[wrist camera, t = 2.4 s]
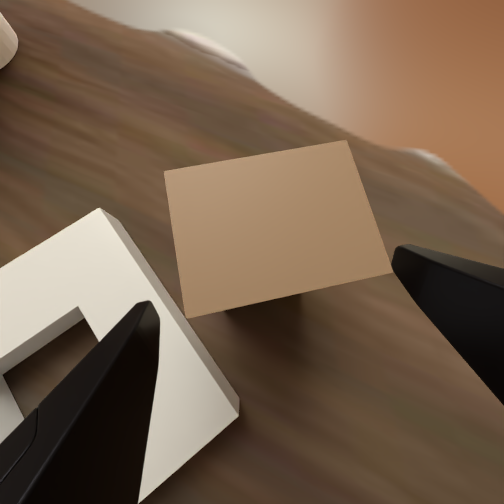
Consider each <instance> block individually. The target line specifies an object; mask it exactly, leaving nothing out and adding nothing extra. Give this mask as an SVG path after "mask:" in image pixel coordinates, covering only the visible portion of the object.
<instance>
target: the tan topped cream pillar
mask: <svg viewBox="0 0 504 504" xmlns="http://www.w3.org/2000/svg"><path fill="white" fill-rule="evenodd" d="M164 176H165V183H166V189H167V196H168V203H169V209H170V216H171V223H172V229H173V236H174V243H175V250H176V256H177V263H178V270H179V276H180V283H181V290H182V296H183V303H184V310H185V316H186V319H187V318H192V317H196V316H201V315H205V314H210V313H214V312H219V311H223V310H227V309H232V308H236V307H241V306H245V305H250V304H254V303H259V302H263V301H268V300H272V299H276V298H281V297H285V296H290V295H294V294H299V293H303V292H308V291H312V290H317V289H321V288H325V287H330V286H334V285H339V284H343V283H348V282H352V281H357V280H361V279H366V278H370V277H374V276H379V275H383V274H388V273H392V272H393V269H392V267H391V264H390V261H389V258H388V255H387V253H386V250H385V247H384V244H383V241H382V238H381V236H380V233H379V230H378V227H377V224H376V222H375V219H374V216H373V213H372V210H371V207H370V205H369V202H368V199H367V196H366V193H365V191H364V188H363V185H362V182H361V179H360V177H359V174H358V171H357V168H356V165H355V162H354V160H353V157H352V154H351V151H350V148H349V146H348V143H347V140H343V141H337V142H331V143H326V144H320V145H314V146H308V147H302V148H296V149H291V150H285V151H279V152H273V153H267V154H261V155H256V156H250V157H244V158H238V159H232V160H226V161H220V162H215V163H209V164H203V165H197V166H191V167H185V168H180V169H174V170H168V171H164Z"/></svg>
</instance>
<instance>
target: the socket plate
mask: <svg viewBox="0 0 504 504" xmlns="http://www.w3.org/2000/svg"><path fill="white" fill-rule="evenodd" d="M146 300H150V301H151V302H152V303H153V305H154V307H155V309H156V311H157V313H158V315H159V317H160V347H159V366H158V374H157V381H156V388H155V394H154V401H153V407H152V414H151V421H150V427H149V434H148V441H147V447H146V454H145V461H144V467H143V474H142V481H141V487H140V494H139V501H138V504H139V503H140V502H141V501H142V500H143V499H144V498H145V497H147V496H148V495H149V494H150V493H151V492H152V491H153V490H155V489H156V488H157V487H158V486H159V485H160V484H161V483H163V482H164V481H165V480H166V479H167V478H168V477H169V476H171V475H172V474H173V473H174V472H175V471H176V470H177V469H179V468H180V467H181V466H182V465H183V464H184V463H185V462H187V461H188V460H189V459H190V458H191V457H192V456H193V455H195V454H196V453H197V452H198V451H199V450H200V449H202V448H203V447H204V446H205V445H206V444H207V443H208V442H210V441H211V440H212V439H213V438H214V437H215V436H216V435H218V434H219V433H220V432H221V431H222V430H223V429H224V428H226V427H227V426H228V425H229V424H230V423H231V422H232V421H234V420H235V419H236V418H237V417H238V416H239V400H240V398H239V397H238V395H237V394H236V392H235V391H234V389H233V388H232V387H231V385H230V384H229V382H228V381H227V379H226V378H225V376H224V375H223V373H222V372H221V370H220V369H219V367H218V366H217V364H216V363H215V361H214V360H213V358H212V357H211V356H210V354H209V353H208V351H207V350H206V348H205V347H204V345H203V344H202V342H201V341H200V339H199V338H198V336H197V335H196V333H195V332H194V330H193V329H192V328H191V326H190V325H189V323H188V322H187V320H186V319H185V317H184V316H183V314H182V313H181V311H180V310H179V308H178V307H177V305H176V304H175V302H174V301H173V299H172V298H171V297H170V295H169V294H168V292H167V291H166V289H165V288H164V286H163V285H162V283H161V282H160V280H159V279H158V277H157V276H156V274H155V273H154V271H153V270H152V269H151V267H150V266H149V264H148V263H147V261H146V260H145V258H144V257H143V255H142V254H141V252H140V251H139V249H138V248H137V246H136V245H135V243H134V242H133V240H132V239H131V238H130V236H129V235H128V233H127V232H126V230H125V229H124V227H123V226H122V224H121V223H120V221H119V220H117V219H116V218H114V217H113V216H111V215H110V214H108V213H107V212H105V211H104V210H102V209H101V208H98V209H96V210H95V211H93V212H91V213H90V214H88V215H86V216H85V217H83V218H82V219H80V220H78V221H77V222H75V223H73V224H72V225H70V226H69V227H67V228H65V229H64V230H62V231H60V232H59V233H57V234H55V235H54V236H52V237H51V238H49V239H47V240H46V241H44V242H42V243H41V244H39V245H38V246H36V247H34V248H33V249H31V250H29V251H28V252H26V253H24V254H23V255H21V256H20V257H18V258H16V259H15V260H13V261H11V262H10V263H8V264H7V265H5V266H3V267H2V268H0V443H1V442H2V441H3V440H4V439H5V438H6V437H7V436H8V435H9V434H10V433H11V432H12V431H13V430H14V429H15V428H16V427H17V426H18V425H19V424H20V423H21V422H22V421H23V420H24V417H23V415H22V413H21V411H20V409H19V407H18V405H17V403H16V401H15V399H14V397H13V395H12V393H11V391H10V389H9V387H8V385H7V383H6V381H5V379H4V377H3V374H4V373H6V372H7V371H8V370H10V369H11V368H13V367H14V366H16V365H17V364H19V363H20V362H21V361H23V360H24V359H26V358H27V357H29V356H30V355H32V354H33V353H34V352H36V351H37V350H39V349H40V348H42V347H43V346H45V345H46V344H47V343H49V342H50V341H52V340H53V339H55V338H56V337H58V336H59V335H60V334H62V333H63V332H65V331H66V330H68V329H69V328H71V327H72V326H73V325H75V324H76V323H78V322H79V321H81V320H82V319H84V318H85V319H86V320H87V322H88V324H89V325H90V327H91V329H92V330H93V332H94V334H95V335H96V337H97V339H98V340H99V341H100V340H101V339H102V338H103V337H104V336H105V335H106V334H107V333H108V332H109V331H110V330H111V329H112V328H113V327H114V326H115V325H116V324H117V323H118V322H119V321H120V320H121V319H122V318H123V317H124V316H125V315H126V314H127V312H128V311H129V310H130V309H131V308H132V307H133V306H134V305H135V304H136V303H138V302H142V301H146Z"/></svg>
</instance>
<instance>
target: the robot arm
mask: <svg viewBox="0 0 504 504" xmlns="http://www.w3.org/2000/svg"><path fill="white" fill-rule="evenodd" d="M391 267H392V269H393V272H394V273H395V274H396V276H397V277H398V279H399V280H400V281H401V283H402V284H403V286H404V287H405V289H406V290H407V291H408V293H409V294H410V296H411V297H412V298H413V300H414V301H415V303H416V304H417V305H418V306H419V307H420V309H421V310H422V311H423V312H424V313H425V315H426V316H427V317H428V318H429V319H430V320H431V322H432V323H433V324H434V325H435V326H436V327H437V328H438V330H439V331H440V332H441V333H442V334H443V335H444V337H445V338H446V339H447V340H448V341H449V342H450V344H451V345H452V346H453V347H454V348H455V349H456V351H457V352H458V353H459V354H460V355H461V356H462V358H463V359H464V360H465V361H466V362H467V363H468V365H469V366H470V367H471V368H472V369H473V370H474V371H475V373H476V374H477V375H478V376H479V377H480V378H481V380H482V381H483V382H484V383H485V384H486V385H487V387H488V388H489V389H490V390H491V391H492V392H493V394H494V395H495V396H496V397H497V398H498V399H499V401H500V402H501V403H502V404H503V405H504V269H503V268H499V267H495V266H491V265H488V264H484V263H480V262H476V261H472V260H468V259H464V258H461V257H457V256H453V255H449V254H445V253H441V252H438V251H434V250H430V249H426V248H422V247H418V246H414V245H411V244H406V245H401V246H398V247H396V249H395V251H394V255H393V259H392V263H391ZM159 347H160V317H159V315H158V313H157V311H156V309H155V307H154V305H153V303H152V302H151V301H150V300H146V301H142V302H138V303H136V304H135V305H134V306H133V307H132V308H131V309H130V310H129V311H128V312H127V314H126V315H125V316H124V317H123V318H122V319H121V320H120V321H119V322H118V323H117V324H116V325H115V326H114V327H113V328H112V329H111V330H110V331H109V332H108V333H107V334H106V335H105V336H104V337H103V338H102V339H101V340H100V341H99V343H98V344H97V345H96V346H95V347H94V348H93V349H92V350H91V351H90V352H89V353H88V354H87V355H86V356H85V357H84V358H83V359H82V360H81V361H80V362H79V363H78V364H77V365H76V366H75V367H74V368H73V369H72V370H71V372H70V373H69V374H68V375H67V376H66V377H65V378H64V379H63V380H62V381H61V382H60V383H59V384H58V385H57V386H56V387H55V388H54V389H53V390H52V391H51V392H50V393H49V394H48V395H47V396H46V397H45V398H44V399H43V400H42V402H41V403H40V404H39V405H38V407H37V408H35V409H34V410H33V411H32V412H31V413H30V414H29V415H28V416H27V417H26V418H25V419H24V420H23V421H22V422H21V423H20V424H19V425H18V426H17V427H16V428H15V429H14V430H13V431H12V432H11V433H10V434H9V435H8V436H7V437H6V438H5V439H4V440H3V441H2V442H1V443H0V504H138V501H139V494H140V487H141V481H142V474H143V467H144V461H145V454H146V447H147V441H148V434H149V427H150V421H151V414H152V407H153V401H154V394H155V388H156V381H157V374H158V366H159Z"/></svg>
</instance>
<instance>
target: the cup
mask: <svg viewBox="0 0 504 504" xmlns="http://www.w3.org/2000/svg"><path fill="white" fill-rule="evenodd" d="M17 49H18V38H17V35H16V33H15V32H14V31H13V29H12V28H11V26H10V25H9V24H8V22H7V21H6V20H5V18H4V17H3V15H2V14H1V13H0V69H1V68H2V67H4V66H5V65H6V64H8V63H9V62H10V60H11V59H12V58H13V57H14V56H15V53H16V51H17Z"/></svg>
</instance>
